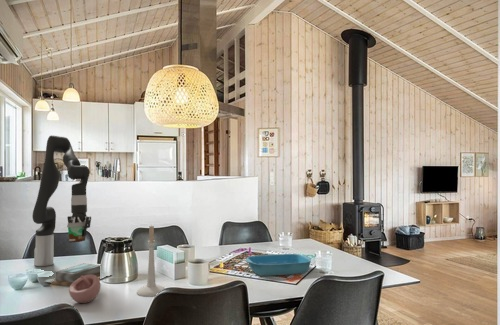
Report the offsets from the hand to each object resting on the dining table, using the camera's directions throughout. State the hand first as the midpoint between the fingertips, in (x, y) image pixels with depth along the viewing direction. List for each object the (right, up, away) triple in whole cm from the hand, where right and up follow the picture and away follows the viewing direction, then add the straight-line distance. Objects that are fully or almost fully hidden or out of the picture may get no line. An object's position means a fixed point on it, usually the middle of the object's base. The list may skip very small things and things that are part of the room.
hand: (79, 236), depth 199 cm
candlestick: (+45, -20, -27) cm, 56 cm away
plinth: (+3, -20, -7) cm, 22 cm away
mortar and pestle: (+20, -20, -40) cm, 49 cm away
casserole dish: (+105, -21, +8) cm, 107 cm away
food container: (+1, -3, 0) cm, 3 cm away
